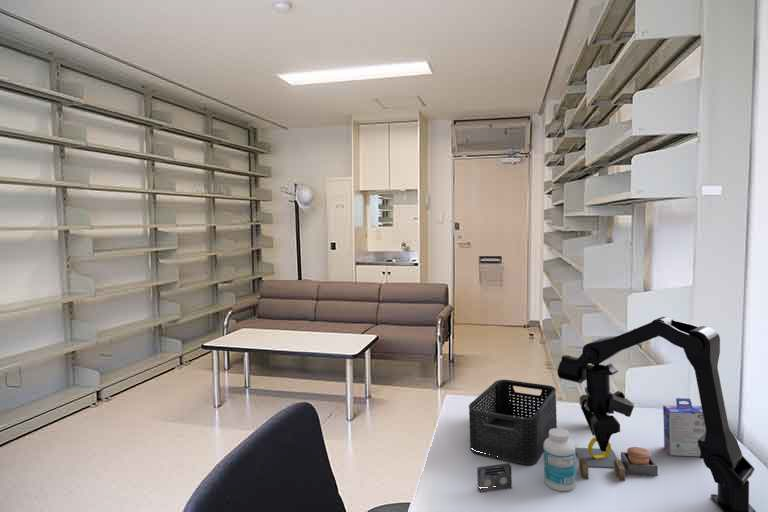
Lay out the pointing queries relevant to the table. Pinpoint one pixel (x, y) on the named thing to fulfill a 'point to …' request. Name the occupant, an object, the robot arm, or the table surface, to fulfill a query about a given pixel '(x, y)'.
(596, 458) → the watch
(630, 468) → the grey square tray
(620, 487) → the table surface
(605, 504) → the table surface
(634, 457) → the tan domed cylinder
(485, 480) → the mini dv tape
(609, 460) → the slate mat
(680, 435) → the ink cartridge box
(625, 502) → the table surface
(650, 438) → the table surface
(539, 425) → the storage bin
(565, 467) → the pill bottle
